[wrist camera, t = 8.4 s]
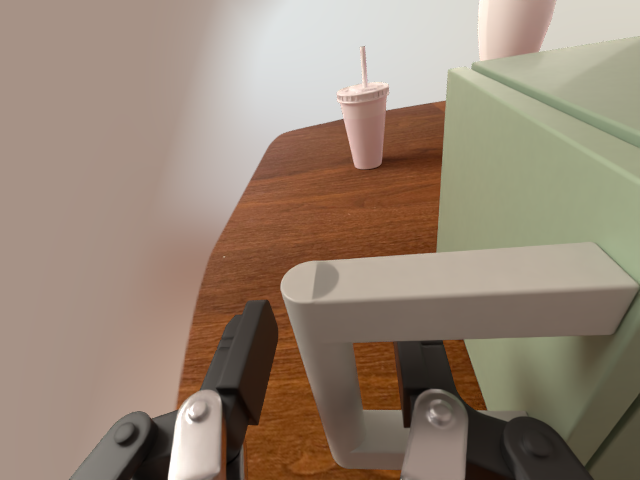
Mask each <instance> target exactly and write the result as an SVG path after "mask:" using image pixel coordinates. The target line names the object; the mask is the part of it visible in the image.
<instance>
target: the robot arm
mask: <svg viewBox="0 0 640 480" xmlns="http://www.w3.org/2000/svg"><path fill="white" fill-rule="evenodd" d="M221 338H222V339H221V340H220V342H219V345H218V347H217V350H216V352H215V354H214V357H213V359H212V362H211V364H210V367H209V369H208V372H207V374H206V376H205V379H204V381H203V384H202V386H201V388H200V390H199V392H196V393H194V394H193V395H191V396H190V397H189V398H188V399H187V400H186V401H185V402H184V403H183V404H182V406H181V407H180V409H178V410H176V411H173V412H170V413H167V414H164V415H161V416H158V417H155V418H152V419H151V418H150V417H149V416H148V415H147V414H146V413H145V412H141V411H137V412H132V413H130V414H128V415H126V416H124V417H122V418H121V419H120V420H118V421H117V422H116V423H115V424H114V425H113V426H112V427H111V428H110V430H109V431H108V432H107V434H106V435H105V436H104V437H103V438H102V439H101V441H100V442H99V443H98V444H97V446H96V447H95V448H94V449H93V450H92V452H91V453H90V454H89V455H88V457H87V458H86V459H85V460H84V462H83V463H82V464H81V465H80V466H79V468H78V469H77V470H76V472H75V473H74V474H73V475H72V476H71V478H70V479H69V480H248V466H247V443H246V439H245V434H246V430H247V426H248V425H258V423H259V419H260V415H261V410H262V406H263V402H264V398H265V393H266V389H267V385H268V380H269V376H270V372H271V367H272V363H273V359H274V355H275V350H276V346H277V342H278V326H277V323H276V320H275V317H274V314H273V311H272V308H271V306H270V303H269V301H268V300H252V301H248V302H247V303H246V306H245V308H244V311H243V314H242V315H235V316H234V317H233V318H232V320H231V321H230V322H229V323H228V324H227V325H226V327H225V330H224V332H223V335H222V337H221ZM393 343H394V351H395V359H396V368H397V376H398V384H399V393H400V401H401V409H402V418H403V426H404V428H410V431H409V436H408V441H407V446H406V451H405V457H404V462H403V467H402V472H401V477H400V480H594V479H593V478H592V476H591V475H590V474H589V472H588V471H587V470H586V468H585V467H584V466H583V464H582V463H581V462H580V460H579V459H578V458H577V457H576V455H575V454H574V453H573V451H572V450H571V449H570V447H569V446H568V445H567V443H566V442H565V441H564V440H563V438H562V437H561V436H560V435H559V434H558V432H556V431H555V430H554V429H553V428H552V427H551V426H549V425H548V424H546V423H544V422H543V421H541V420H538V419H536V418H532V417H527V416H520V417H516V418H513V419H511V420H510V421H509V422H507V421H504V420H501V419H498V418H495V417H492V416H488V415H485V414H483V413H480V412H478V411H476V410H474V409H473V408H471V407H470V406H469V405H468V404H466V403H465V402H464V400H463V399H462V398H461V397H460V395H459V394H458V392H457V390H456V387H455V384H454V381H453V377H452V373H451V370H450V366H449V362H448V359H447V355H446V351H445V348H444V345H443V340H425V341H393Z"/></svg>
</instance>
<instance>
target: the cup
mask: <svg viewBox="0 0 640 480" xmlns="http://www.w3.org/2000/svg"><path fill="white" fill-rule="evenodd" d="M555 4H556V0H479V15H478V43H479V55H480V61H485V60H491V59H498V58H504V57H510V56H517V55H523V54H529V53H536V52H539V50H540V47H541V44H542V42H543V39H544V37H545V35H546V32H547V30H548V27H549V25H550V22H551V19H552V15H553V11H554V7H555Z"/></svg>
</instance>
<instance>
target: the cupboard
mask: <svg viewBox="0 0 640 480" xmlns="http://www.w3.org/2000/svg"><path fill="white" fill-rule="evenodd" d="M471 69H472V70H474V71H476V72H478V73H480V74H482V75H484V76H487V77H489V78H491V79H493V80H495V81H497V82H499V83H501V84H504V85H506V86H508V87H510V88H512V89H514V90H516V91H519V92H521V93H523V94H525V95H527V96H529V97H531V98H533V99H536V100H538V101H540V102H542V103H544V104H546V105H548V106H551V107H553V108H555V109H557V110H559V111H561V112H563V113H565V114H568V115H570V116H572V117H574V118H576V119H578V120H580V121H583V122H585V123H587V124H589V125H591V126H593V127H595V128H597V129H600V130H602V131H604V132H606V133H608V134H610V135H612V136H615V137H617V138H619V139H621V140H623V141H625V142H627V143H629V144H632V145H634V146H636V147H638V148H640V36H637V37H631V38H624V39H618V40H612V41H606V42H599V43H593V44H586V45H581V46H574V47H567V48H561V49H555V50H549V51H542V52H536V53H529V54H523V55H517V56H510V57H504V58H498V59H491V60H485V61H479V62H474V63H473V64H472V68H471ZM584 467H585V468H586V470H587V471H588V472H589V474H590V475H591V476H592V478H593V479H594V480H640V393H639V394H638V396H637V397H636V398H635V400H634V401H633V402H632V404H631V405H630V406H629V408H628V409H627V410H626V412H625V413H624V414H623V416H622V417H621V418H620V420H619V421H618V422H617V424H616V425H615V426H614V428H613V429H612V430H611V432H610V433H609V434H608V436H607V437H606V438H605V440H604V441H603V442H602V444H601V445H600V446H599V448H598V449H597V450H596V452H595V453H594V454H593V456H592V457H591V458H590V460H589V461H588V462H587V464H586V465H585V466H584Z"/></svg>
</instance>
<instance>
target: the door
mask: <svg viewBox="0 0 640 480" xmlns="http://www.w3.org/2000/svg"><path fill="white" fill-rule="evenodd" d="M281 292H282V296H283V299H284V302H285V305H286V308H287V312H288V315H289V318H290V321H291V325H292V328H293V331H294V334H295V337H296V341H297V344H298V347H299V350H300V353H301V357H302V360H303V363H304V366H305V370H306V373H307V376H308V379H309V382H310V386H311V389H312V392H313V395H314V398H315V402H316V405H317V408H318V411H319V415H320V418H321V421H322V424H323V427H324V431H325V434H326V437H327V440H328V443H329V447H330V450H331V453H332V456H333V458H334V460H335V461H336V462H337V463H338V464H339V465H340V466H342V467H344V468H348V469H352V468H357V469H387V470H402V467H403V462H404V457H405V451H406V446H407V441H408V436H409V431H410V428H404V426H403V418H402V410H363V407H362V401H361V395H360V388H359V382H358V376H357V369H356V363H355V356H354V350H353V344H352V343H358V342H392V341H425V340H459V339H464V342H465V345H466V348H467V351H468V354H469V357H470V360H471V363H472V366H473V369H474V371H475V374H476V377H477V380H478V383H479V386H480V389H481V392H482V395H483V398H484V401H485V404H486V407H487V410H488V411H478V412H480V413H483V414H485V415H488V416H492V417H495V418H498V419H501V420H504V421H507V422H509V421H510V420H511V419H513V418H516V417H520V416H527V417H532V418H536V419H538V420H541V421H543V422H544V423H546V424H548V425H549V426H551V427H552V428H553V429H554V430H555V431H556V432H558V434H559V435H560V436H561V437H562V438H563V440H564V441H565V442H566V443H567V445H568V446H569V447H570V449H571V450H572V451H573V453H574V454H575V455H576V457H577V458H578V459H579V460H580V462H581V463H582V464H583V466H585V465H586V464H587V462H588V461H589V460H590V458H591V457H592V456H593V454H594V453H595V452H596V450H597V449H598V448H599V446H600V445H601V444H602V442H603V441H604V440H605V438H606V437H607V436H608V434H609V433H610V432H611V430H612V429H613V428H614V426H615V425H616V424H617V422H618V421H619V420H620V418H621V417H622V416H623V414H624V413H625V412H626V410H627V409H628V408H629V406H630V405H631V404H632V402H633V401H634V400H635V398H636V397H637V396H638V394H639V393H640V148H638V147H636V146H634V145H632V144H629V143H627V142H625V141H623V140H621V139H619V138H617V137H615V136H612V135H610V134H608V133H606V132H604V131H602V130H600V129H597V128H595V127H593V126H591V125H589V124H587V123H585V122H583V121H580V120H578V119H576V118H574V117H572V116H570V115H568V114H565V113H563V112H561V111H559V110H557V109H555V108H553V107H551V106H548V105H546V104H544V103H542V102H540V101H538V100H536V99H533V98H531V97H529V96H527V95H525V94H523V93H521V92H519V91H516V90H514V89H512V88H510V87H508V86H506V85H504V84H501V83H499V82H497V81H495V80H493V79H491V78H489V77H487V76H484V75H482V74H480V73H478V72H476V71H474V70H472V69H469V68H467V67H460V68H453V69H450V70H448V78H447V94H446V110H445V126H444V142H443V158H442V174H441V190H440V206H439V222H438V238H437V253H427V254H413V255H399V256H385V257H371V258H357V259H342V260H328V261H309V262H305V263H302V264H299V265H297V266H295V267H293V268H292V269H290V270H289V271H288V272H287V273H286V274H285V276H284V277H283V279H282V282H281Z"/></svg>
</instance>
